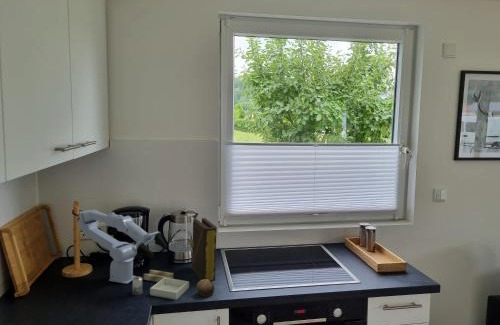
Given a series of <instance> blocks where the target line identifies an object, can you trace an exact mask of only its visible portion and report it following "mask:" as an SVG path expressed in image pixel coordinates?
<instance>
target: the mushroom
mask: <svg viewBox="0 0 500 325" xmlns="http://www.w3.org/2000/svg"><path fill="white" fill-rule="evenodd" d="M196 291H197V292H198V294H200V296H203V297H210V296H212V295H213V294H214V292H215V285H214V284H213V281H212V282H211V281H210V280H208V279H203V280H201V279H200V280H199V281H198V282H197V284H196Z"/></svg>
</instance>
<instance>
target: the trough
mask: <svg viewBox="0 0 500 325" xmlns="http://www.w3.org/2000/svg"><path fill="white" fill-rule="evenodd" d="M163 278H170V279H174V272H169V271H162V270H156V269H149V273H143V280H144V281H145V280H146V281H150V282H156V283H158V282H159V281H160V280H162V279H163Z"/></svg>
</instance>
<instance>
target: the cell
mask: <svg viewBox="0 0 500 325" xmlns="http://www.w3.org/2000/svg"><path fill="white" fill-rule="evenodd" d="M143 280H144V277H142V276H138V275H137V277H134V278H133V280H132V295H133V296H140V295H142V294H143Z"/></svg>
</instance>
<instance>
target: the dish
mask: <svg viewBox="0 0 500 325" xmlns="http://www.w3.org/2000/svg"><path fill="white" fill-rule="evenodd" d="M189 288H190V281H187V280H183V279H178V278H177V279H176V278H173V279H170V278H163V279H162V280H160V281H159V282H156V284H154V285H152V286H151V287H150V288H149V291H150V292H149V294H150V295H149V296H153V297H156V298H157V297H158V298H163V299H170V300H175V301H177V300H178V299H179V298H181V296H182V295H183V294H185V292H187V291H188V290H189Z"/></svg>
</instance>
